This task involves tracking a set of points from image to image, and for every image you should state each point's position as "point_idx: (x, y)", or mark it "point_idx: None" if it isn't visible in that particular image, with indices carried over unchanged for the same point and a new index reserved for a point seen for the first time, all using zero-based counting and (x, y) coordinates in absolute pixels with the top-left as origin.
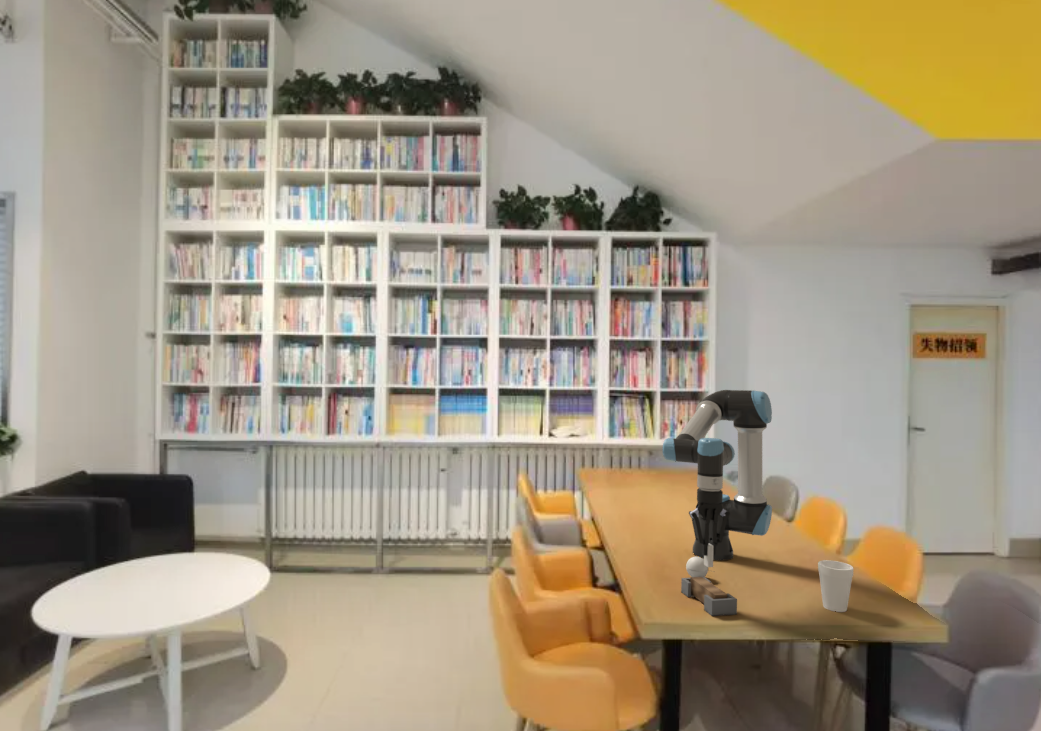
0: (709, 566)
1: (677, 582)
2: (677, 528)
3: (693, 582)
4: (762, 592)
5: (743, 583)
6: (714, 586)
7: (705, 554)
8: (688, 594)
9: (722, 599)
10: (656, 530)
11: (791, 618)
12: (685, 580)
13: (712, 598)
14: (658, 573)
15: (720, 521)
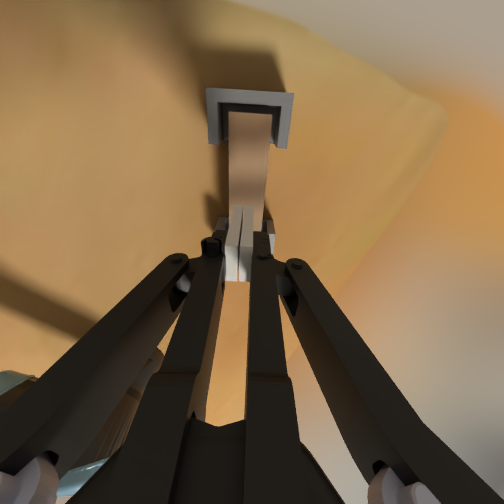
0: (248, 206)
1: (249, 283)
2: None
3: None
4: (94, 212)
5: (121, 259)
6: (233, 184)
7: (261, 233)
8: (272, 222)
9: (254, 96)
10: None
11: (55, 14)
12: (271, 248)
13: (280, 113)
14: None
15: (105, 391)
